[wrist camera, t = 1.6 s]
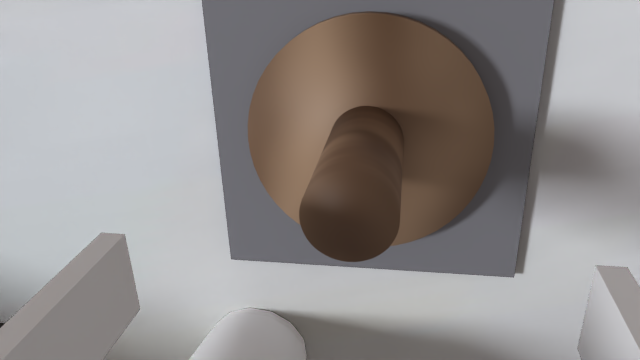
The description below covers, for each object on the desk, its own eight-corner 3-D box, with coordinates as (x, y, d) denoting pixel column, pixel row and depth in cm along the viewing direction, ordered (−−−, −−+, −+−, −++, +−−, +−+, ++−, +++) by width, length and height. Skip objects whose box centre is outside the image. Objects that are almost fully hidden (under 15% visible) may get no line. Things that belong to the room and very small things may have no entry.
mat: (233, 254, 32) (231, 259, 32) (201, -33, 26) (198, -32, 25) (512, 272, 30) (513, 277, 29) (557, -41, 23) (559, -40, 23)
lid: (261, 232, 31) (207, 338, 22) (243, 12, 26) (164, 48, 18) (479, 243, 29) (505, 364, 21) (504, 9, 24) (551, 47, 16)
